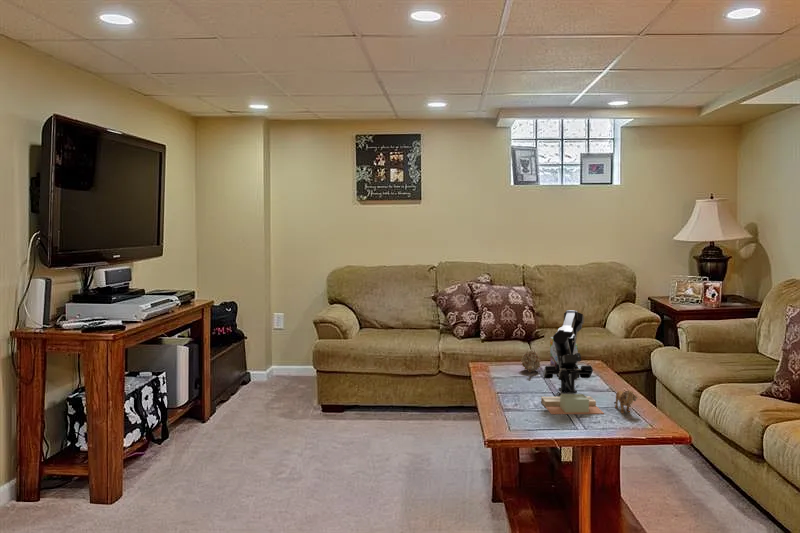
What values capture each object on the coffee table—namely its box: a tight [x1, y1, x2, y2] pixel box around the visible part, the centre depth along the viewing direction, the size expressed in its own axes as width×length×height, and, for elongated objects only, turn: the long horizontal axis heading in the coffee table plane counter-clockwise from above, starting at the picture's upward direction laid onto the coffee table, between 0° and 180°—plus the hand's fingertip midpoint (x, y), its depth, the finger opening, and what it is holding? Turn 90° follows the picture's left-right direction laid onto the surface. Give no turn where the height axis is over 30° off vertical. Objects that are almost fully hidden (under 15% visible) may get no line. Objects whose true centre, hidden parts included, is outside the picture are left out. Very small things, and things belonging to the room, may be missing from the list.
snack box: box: [549, 336, 579, 369], centre depth 302 cm, size 21×6×15 cm, turn 10°
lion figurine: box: [613, 390, 638, 414], centre depth 235 cm, size 15×5×9 cm, turn 7°
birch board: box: [540, 395, 597, 408], centre depth 244 cm, size 7×20×2 cm, turn 89°
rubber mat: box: [545, 405, 605, 415], centre depth 236 cm, size 10×20×1 cm, turn 89°
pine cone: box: [520, 350, 541, 373], centre depth 296 cm, size 22×10×10 cm, turn 172°
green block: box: [559, 393, 589, 412], centre depth 235 cm, size 5×9×8 cm
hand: (571, 390), depth 239 cm, fingers closed
